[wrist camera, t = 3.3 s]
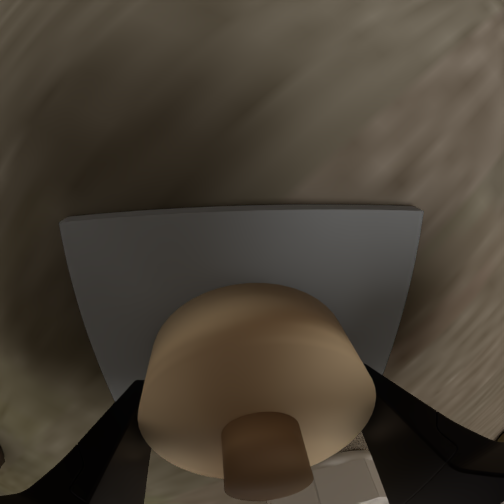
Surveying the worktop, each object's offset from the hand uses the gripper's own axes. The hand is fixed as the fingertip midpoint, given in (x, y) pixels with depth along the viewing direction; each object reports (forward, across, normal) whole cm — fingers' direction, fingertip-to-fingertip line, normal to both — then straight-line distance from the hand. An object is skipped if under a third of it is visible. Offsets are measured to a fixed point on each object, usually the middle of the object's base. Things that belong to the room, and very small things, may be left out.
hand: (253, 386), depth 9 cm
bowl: (+2, -5, +13) cm, 14 cm away
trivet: (+1, 0, 0) cm, 1 cm away
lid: (+1, 0, 0) cm, 1 cm away
